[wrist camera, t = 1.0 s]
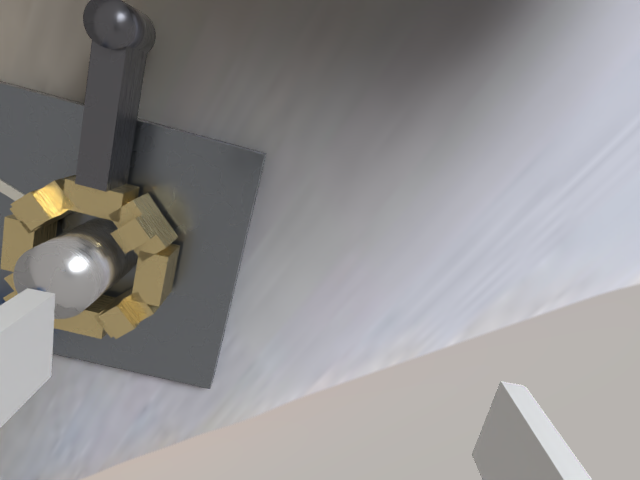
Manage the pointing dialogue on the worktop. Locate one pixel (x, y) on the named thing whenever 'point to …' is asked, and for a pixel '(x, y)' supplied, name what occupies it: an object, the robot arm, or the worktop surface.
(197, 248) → the base plate
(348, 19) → the worktop surface
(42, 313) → the robot arm
